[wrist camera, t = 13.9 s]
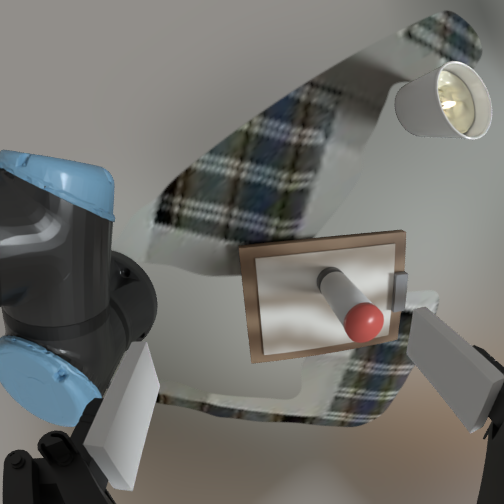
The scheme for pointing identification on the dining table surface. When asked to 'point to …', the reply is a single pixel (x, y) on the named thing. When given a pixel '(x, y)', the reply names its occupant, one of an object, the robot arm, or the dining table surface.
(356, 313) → the marker
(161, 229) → the dining table surface
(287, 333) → the clipboard
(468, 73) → the candle holder
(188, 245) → the dining table surface
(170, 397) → the dining table surface
